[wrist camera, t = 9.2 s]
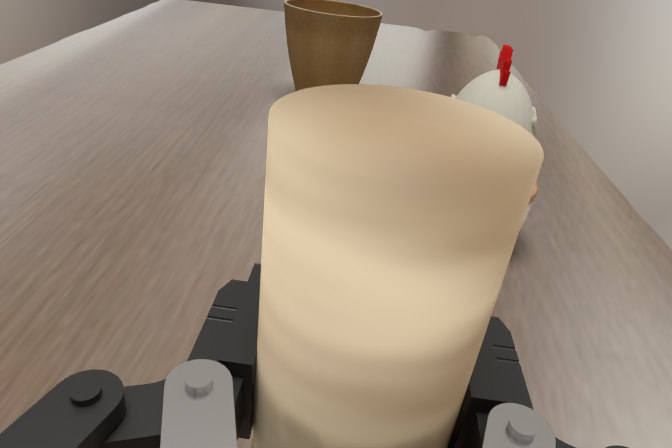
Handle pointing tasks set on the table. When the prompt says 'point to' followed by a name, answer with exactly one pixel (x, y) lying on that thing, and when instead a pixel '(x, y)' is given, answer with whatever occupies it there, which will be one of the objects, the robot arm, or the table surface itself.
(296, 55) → the plant pot
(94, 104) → the table surface
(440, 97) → the dowel
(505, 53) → the chicken shaped dome
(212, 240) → the table surface
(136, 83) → the table surface
